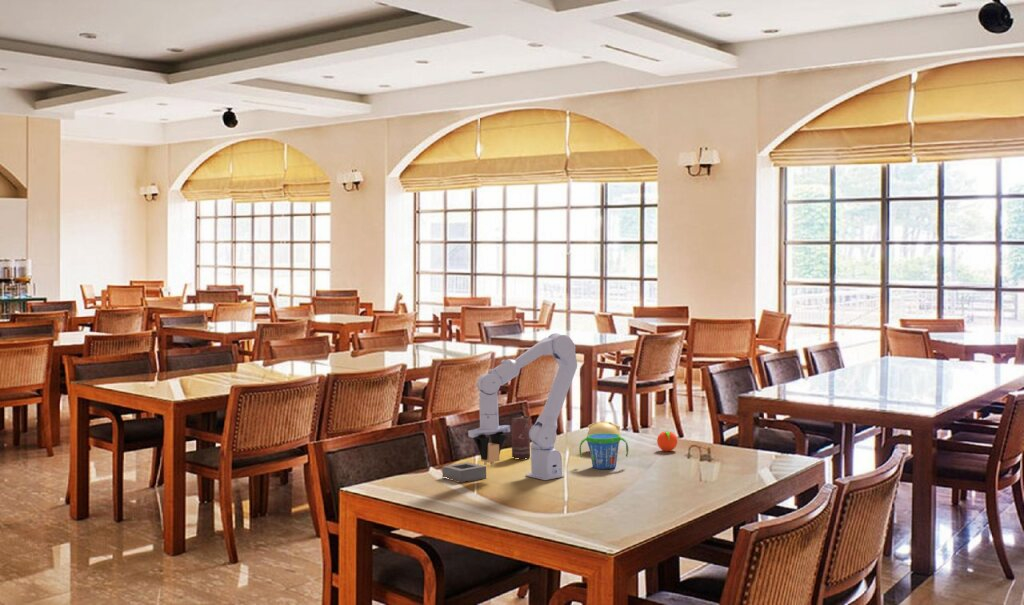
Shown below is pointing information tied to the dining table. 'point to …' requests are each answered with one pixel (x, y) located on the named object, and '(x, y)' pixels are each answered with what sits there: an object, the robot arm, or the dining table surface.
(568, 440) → the dining table surface
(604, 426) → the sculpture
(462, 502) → the dining table surface
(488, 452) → the plug
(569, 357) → the robot arm
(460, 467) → the socket
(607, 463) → the snack cup
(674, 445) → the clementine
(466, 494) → the dining table surface
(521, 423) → the can
